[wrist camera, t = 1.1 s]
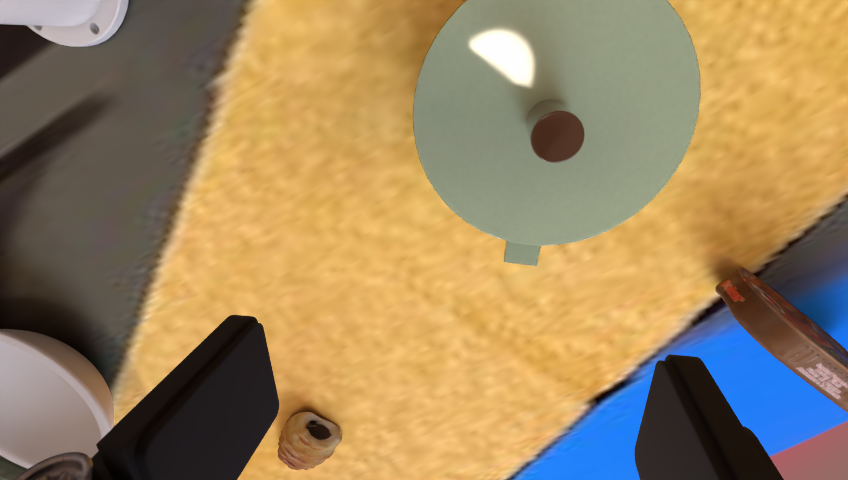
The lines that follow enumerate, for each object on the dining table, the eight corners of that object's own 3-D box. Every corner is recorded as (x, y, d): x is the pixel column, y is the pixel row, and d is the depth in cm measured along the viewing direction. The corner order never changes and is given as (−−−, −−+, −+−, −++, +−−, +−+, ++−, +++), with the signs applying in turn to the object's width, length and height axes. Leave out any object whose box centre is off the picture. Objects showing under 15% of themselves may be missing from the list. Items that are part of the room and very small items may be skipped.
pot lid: (410, 224, 31) (390, 263, 26) (423, -44, 24) (400, -70, 19) (647, 252, 29) (681, 301, 24) (736, -31, 22) (814, -56, 17)
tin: (845, 347, 38) (930, 422, 31) (812, 367, 39) (885, 444, 32) (723, 250, 36) (782, 304, 29) (692, 275, 38) (740, 333, 30)
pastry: (314, 466, 57) (302, 493, 54) (271, 439, 56) (255, 465, 53) (348, 429, 53) (337, 455, 50) (302, 400, 52) (287, 425, 49)
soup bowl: (-43, 281, 53) (-111, 310, 47) (131, 313, 51) (83, 348, 45) (18, 419, 64) (-31, 457, 58) (166, 451, 61) (130, 495, 55)
